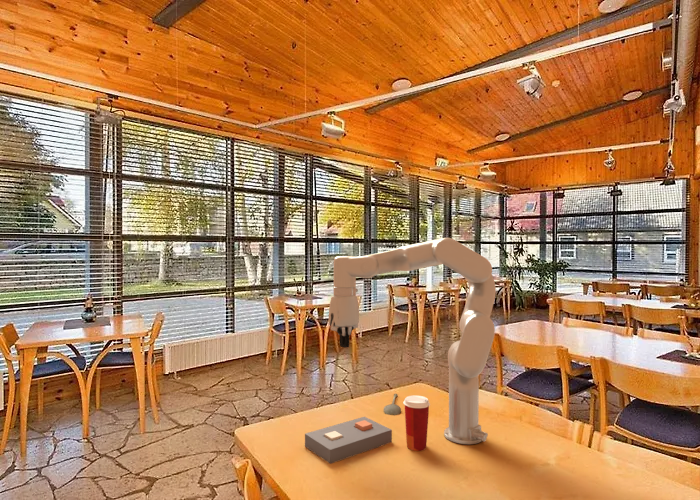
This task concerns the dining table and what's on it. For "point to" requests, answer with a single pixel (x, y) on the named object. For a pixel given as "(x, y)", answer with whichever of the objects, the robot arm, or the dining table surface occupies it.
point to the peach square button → (363, 425)
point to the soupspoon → (392, 408)
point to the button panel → (347, 440)
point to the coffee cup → (416, 422)
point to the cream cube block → (333, 435)
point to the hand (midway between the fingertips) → (344, 346)
